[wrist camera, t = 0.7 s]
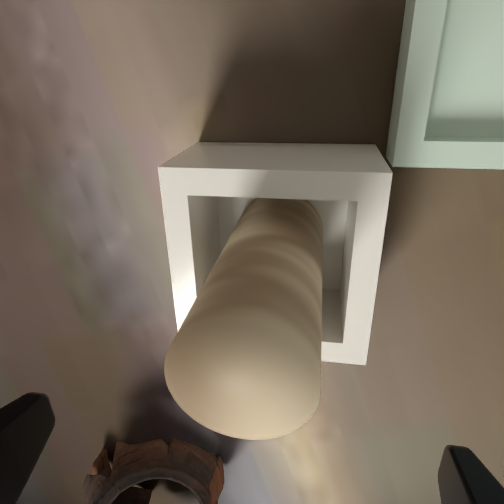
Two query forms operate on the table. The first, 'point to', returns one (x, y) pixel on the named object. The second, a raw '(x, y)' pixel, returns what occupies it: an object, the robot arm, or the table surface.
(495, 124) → the tray
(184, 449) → the brown rounded hollow piece
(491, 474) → the robot arm
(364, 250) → the white square tube
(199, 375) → the dowel
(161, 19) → the table surface
